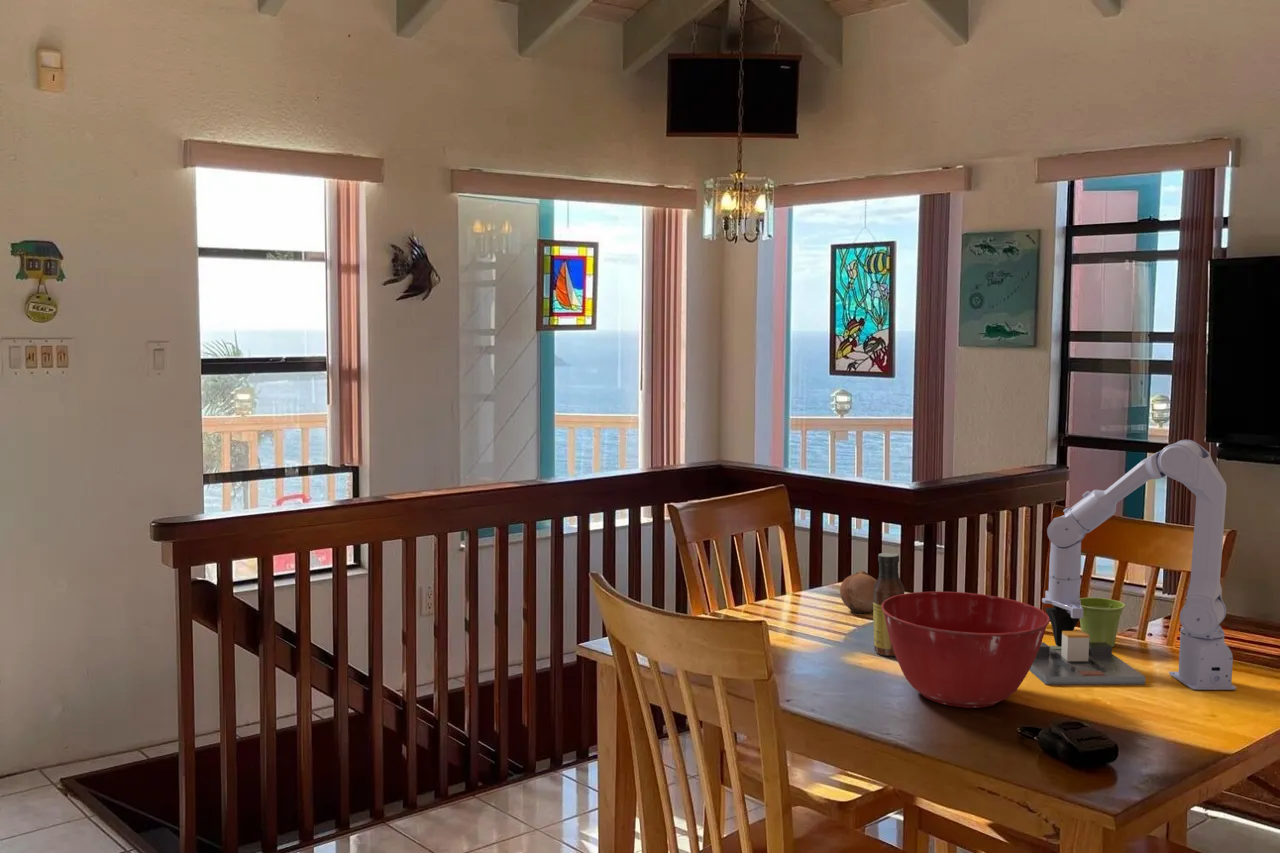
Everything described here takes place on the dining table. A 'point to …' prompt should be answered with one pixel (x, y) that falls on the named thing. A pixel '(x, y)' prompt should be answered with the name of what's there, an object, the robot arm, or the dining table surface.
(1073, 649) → the white orange block
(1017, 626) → the mixing bowl
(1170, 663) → the dining table surface
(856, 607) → the onion
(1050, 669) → the panel
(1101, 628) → the plant pot
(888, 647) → the sauce bottle
